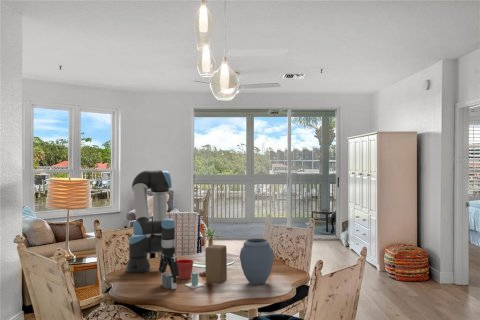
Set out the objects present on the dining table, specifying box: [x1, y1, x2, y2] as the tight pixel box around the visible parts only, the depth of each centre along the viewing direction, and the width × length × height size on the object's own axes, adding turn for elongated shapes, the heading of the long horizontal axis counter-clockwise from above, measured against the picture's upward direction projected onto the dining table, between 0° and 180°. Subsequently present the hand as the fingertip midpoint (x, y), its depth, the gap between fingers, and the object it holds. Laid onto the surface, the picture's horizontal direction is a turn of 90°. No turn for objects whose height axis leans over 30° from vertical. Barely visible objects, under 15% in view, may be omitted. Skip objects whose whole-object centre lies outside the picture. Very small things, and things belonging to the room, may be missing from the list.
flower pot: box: [177, 258, 194, 280], centre depth 252 cm, size 11×11×10 cm
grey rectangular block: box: [161, 272, 172, 289], centre depth 233 cm, size 5×5×7 cm
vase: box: [239, 238, 275, 286], centre depth 237 cm, size 20×20×24 cm
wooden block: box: [204, 244, 228, 284], centre depth 244 cm, size 10×10×20 cm
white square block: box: [184, 271, 206, 289], centre depth 234 cm, size 8×8×7 cm
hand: (168, 286), depth 233 cm, fingers open, 11 cm apart
